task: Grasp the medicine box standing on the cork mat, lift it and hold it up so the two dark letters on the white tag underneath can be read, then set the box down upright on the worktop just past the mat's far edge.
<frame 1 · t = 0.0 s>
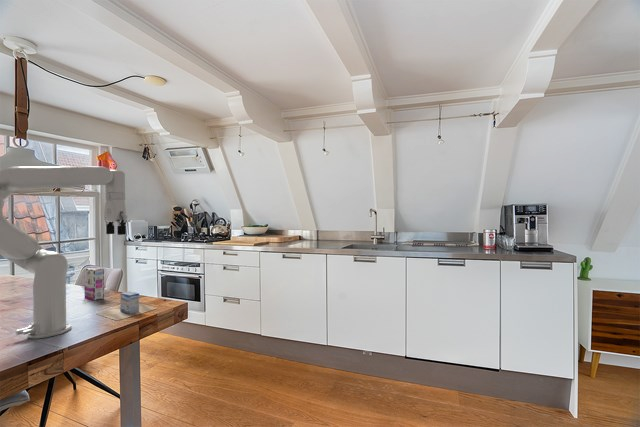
hand: (115, 234, 137), 37 cm above the table, tool pointing down, fingers open, 9 cm apart
medicine box: (129, 312, 139), resting on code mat
candy bar box: (94, 298, 162), on the table
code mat: (127, 311, 140), on the table
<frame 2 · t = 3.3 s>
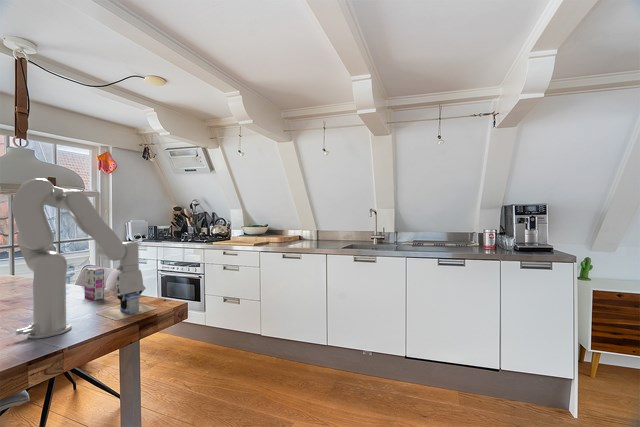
hand: (129, 306, 139), 3 cm above the table, tool pointing down, fingers closed on medicine box, 4 cm apart
medicine box: (129, 312, 139), resting on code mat, touching gripper
everything else where it was.
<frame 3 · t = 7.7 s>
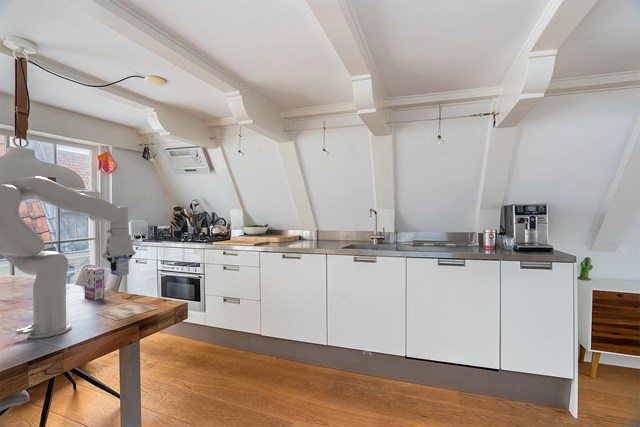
hand: (119, 269, 143), 19 cm above the table, tool pointing down, fingers closed on medicine box, 4 cm apart
medicine box: (119, 274, 143), point 17 cm above the table, touching gripper
everything else where it was.
when the fingers open (4 cm above the table, at t = 12.0 s): medicine box drops 1 cm, on the table.
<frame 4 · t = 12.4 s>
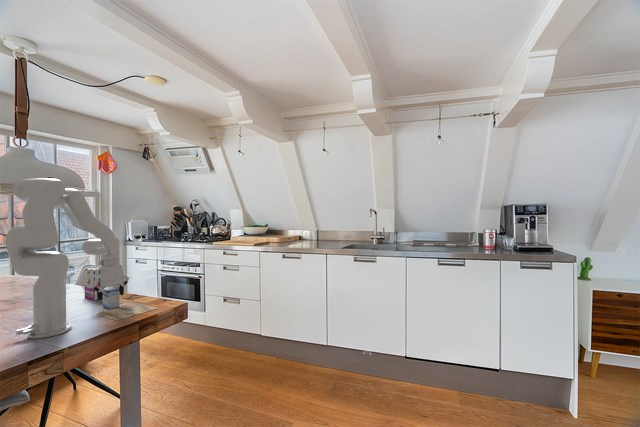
hand: (110, 297, 147), 5 cm above the table, tool pointing down, fingers open, 9 cm apart
medicine box: (111, 307, 147), on the table
everything else where it was.
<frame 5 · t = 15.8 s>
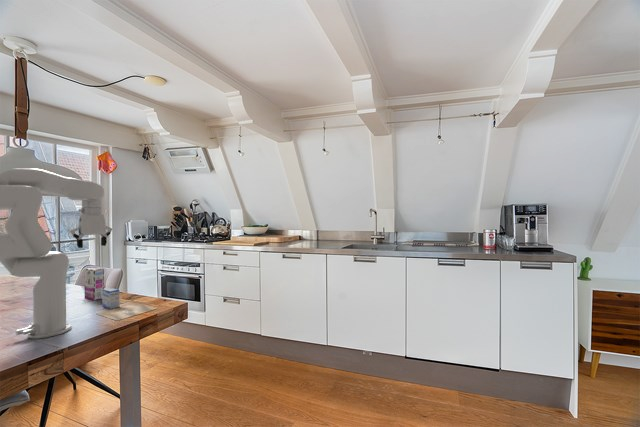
hand: (92, 246, 144), 30 cm above the table, tool pointing down, fingers open, 9 cm apart
nothing on the table moved.
at the end: medicine box inside the target area (0.1 cm from its centre), on the table; medicine box tilted 0°; the gripper is holding nothing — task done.
